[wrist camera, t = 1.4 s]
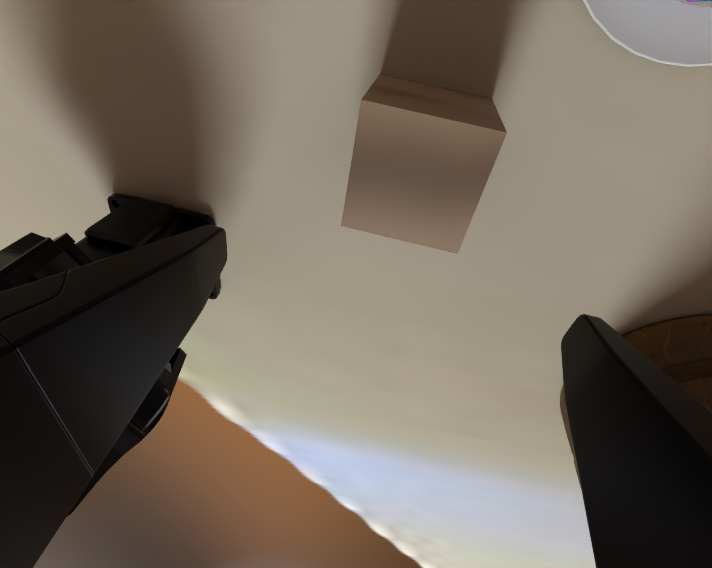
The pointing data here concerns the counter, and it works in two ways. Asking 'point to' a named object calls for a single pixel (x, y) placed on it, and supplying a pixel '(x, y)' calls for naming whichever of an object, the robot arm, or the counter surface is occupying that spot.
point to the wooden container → (673, 358)
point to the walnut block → (420, 162)
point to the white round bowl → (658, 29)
